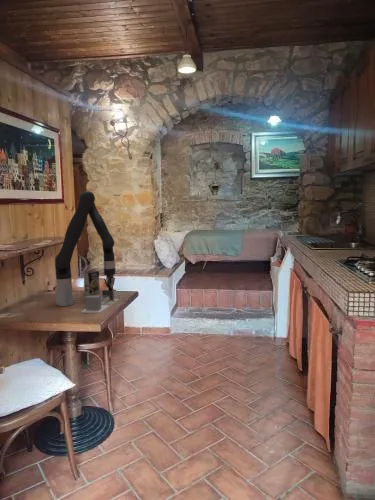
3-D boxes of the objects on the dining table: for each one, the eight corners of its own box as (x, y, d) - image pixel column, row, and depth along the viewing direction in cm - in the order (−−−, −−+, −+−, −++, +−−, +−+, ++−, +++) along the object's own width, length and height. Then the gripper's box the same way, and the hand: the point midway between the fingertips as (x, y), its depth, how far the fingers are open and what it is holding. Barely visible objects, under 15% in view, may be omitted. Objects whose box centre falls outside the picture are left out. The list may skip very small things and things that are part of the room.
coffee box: (90, 295, 263) (88, 273, 261) (84, 294, 267) (83, 272, 265) (100, 293, 270) (99, 271, 268) (94, 291, 274) (93, 270, 272)
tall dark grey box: (95, 304, 234) (95, 294, 233) (103, 298, 247) (103, 289, 246) (110, 304, 233) (109, 294, 232) (117, 299, 245) (117, 290, 245)
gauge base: (81, 312, 220) (80, 297, 219) (102, 299, 250) (101, 286, 249) (100, 313, 218) (99, 298, 217) (119, 300, 248) (118, 286, 247)
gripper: (107, 265, 255) (108, 290, 257) (100, 269, 242) (101, 295, 244) (118, 265, 254) (119, 290, 256) (111, 269, 241) (112, 295, 243)
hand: (110, 293), depth 250 cm, fingers closed
